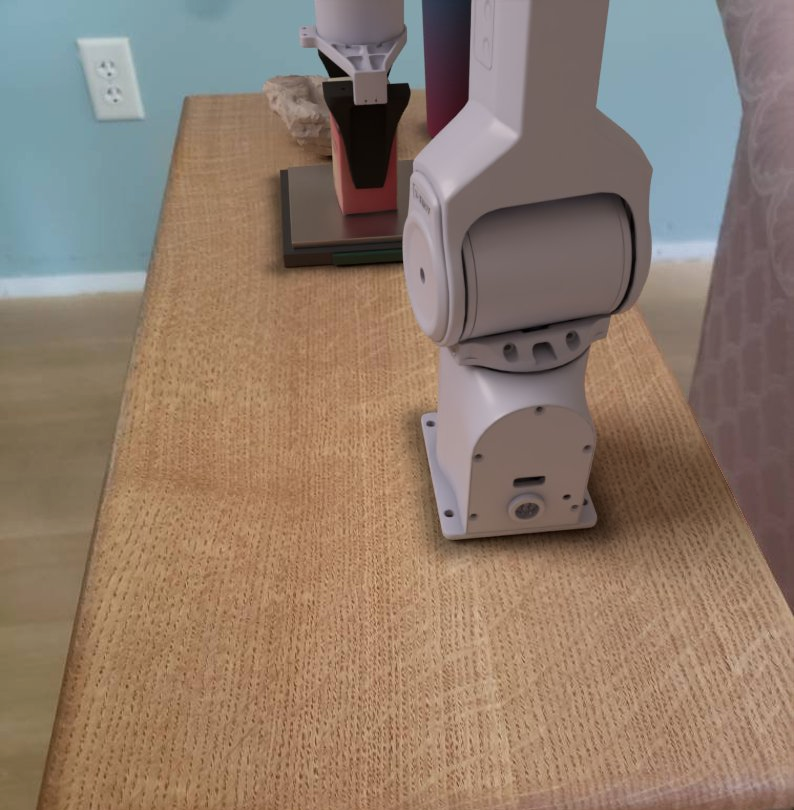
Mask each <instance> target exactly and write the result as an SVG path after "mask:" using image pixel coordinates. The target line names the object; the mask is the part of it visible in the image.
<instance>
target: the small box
mask: <svg viewBox="0 0 794 810" xmlns="http://www.w3.org/2000/svg"><path fill="white" fill-rule="evenodd" d="M328 78H329V77H328ZM345 80H351V81H352V78H351V77H341V78H329V79H328V81H345ZM387 84H391V82H390V79H389V77H388V78H387ZM330 122H331V139H332V155H331V157H332V164H333V175H334V186H335V190H336V194H337V198H338V201H339V204H340V207H341V210H342V213H343V214H345V215H346V214H356V213H368V212H379V211H387V210H396V209H398V161H399V125H398V126H397V129H396V132H395V136H394V139H393V144H392V149H391V154H390V161H389V166H388V172H387V176H386V180H385V184H384V187H382V188H370V189H355V186H354V184H353V181H352V178H351V174H350V170H349V165H348V160H347V156H346V151H345V146H344V142H343V139H342V136H341V133H340V130H339V127H338V125H337V123H336V121H335V119H334V117H333V115H332V114H331V112H330Z"/></svg>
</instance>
